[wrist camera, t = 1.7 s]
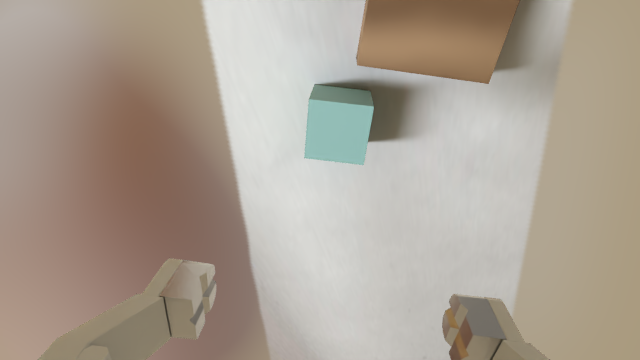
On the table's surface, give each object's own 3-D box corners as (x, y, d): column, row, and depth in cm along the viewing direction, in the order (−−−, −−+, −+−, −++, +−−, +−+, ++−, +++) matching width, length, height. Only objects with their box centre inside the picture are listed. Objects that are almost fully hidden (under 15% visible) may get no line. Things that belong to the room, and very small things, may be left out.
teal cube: (314, 84, 29) (309, 99, 25) (370, 90, 29) (374, 106, 25) (310, 136, 32) (304, 157, 27) (361, 142, 31) (363, 164, 27)
